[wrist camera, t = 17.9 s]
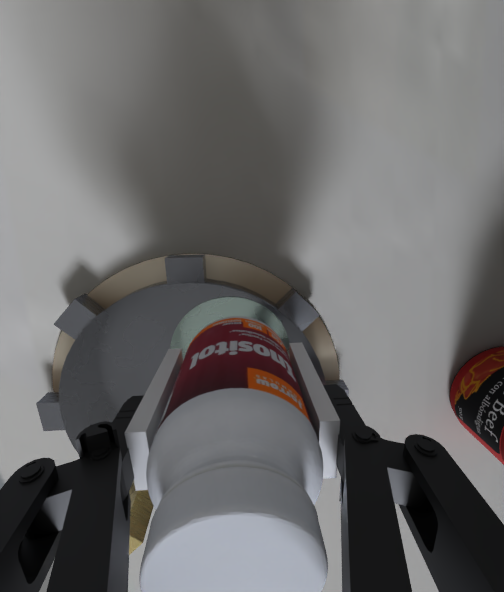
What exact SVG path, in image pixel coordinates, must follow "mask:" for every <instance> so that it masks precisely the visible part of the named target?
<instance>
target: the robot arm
mask: <svg viewBox="0 0 504 592" xmlns="http://www.w3.org/2000/svg"><path fill="white" fill-rule="evenodd" d="M289 359H290V362H291V364H292V367H293V370H294V373H295V376H296V378H297V381H298V384H299V387H300V390H301V393H302V396H303V399H304V401H305V404H306V407H307V410H308V413H309V415H310V418H311V421H312V424H313V426H314V430H315V432H316V436H317V439H318V441H319V444H320V448H321V451H322V457H323V478H336V475H337V468H338V470H339V473H340V475H341V487H340V500H339V501H341V542H342V592H412V589H411V584H410V579H409V574H408V569H407V564H406V559H405V554H404V549H403V544H402V539H401V534H400V529H399V524H398V519H397V514H396V509H395V504H394V503H396V504H399V506H400V508H401V511H402V513H403V515H404V517H405V519H406V521H407V524H408V526H409V528H410V530H411V532H412V534H413V536H414V539H415V541H416V543H417V545H418V547H419V549H420V551H421V554H422V556H423V558H424V560H425V562H426V564H427V567H428V569H429V571H430V573H431V575H432V577H433V579H434V582H435V584H436V586H437V588H438V590H439V592H504V525H503V523H502V522H501V521H500V519H499V518H498V517H497V515H496V514H495V513H494V512H493V510H492V509H491V508H490V506H489V505H488V504H487V503H486V501H485V500H484V499H483V497H482V496H481V495H480V493H479V492H478V491H477V490H476V488H475V487H474V486H473V484H472V483H471V482H470V481H469V479H468V478H467V477H466V475H465V474H464V473H463V471H462V470H461V469H460V468H459V466H458V465H457V464H456V462H455V461H454V460H453V458H452V457H451V456H450V455H449V453H448V452H447V451H446V449H445V448H444V447H443V446H442V445H441V444H440V443H438V442H437V441H435V440H434V439H432V438H429V437H427V436H424V435H417V434H415V435H409V436H408V437H407V438H406V439H405V444H403V443H398V442H393V441H388V440H384V439H382V438H380V435H379V434H378V433H377V432H376V431H375V430H374V429H372V428H370V427H368V426H366V425H365V424H364V422H363V420H362V419H361V417H360V415H359V414H358V412H357V410H356V409H355V407H354V405H352V402H351V400H350V399H349V397H348V395H347V394H346V392H345V390H344V389H342V388H341V387H340V386H338V385H337V384H331V385H323V384H322V382H321V380H320V378H319V376H318V374H317V372H316V370H315V368H314V366H313V364H312V362H311V360H310V358H309V356H308V354H307V352H306V350H305V348H304V346H303V344H302V342H301V343H289ZM182 363H183V355H182V348H178V349H168V351H167V353H166V355H165V357H164V359H163V361H162V363H161V365H160V366H159V368H158V370H157V372H156V374H155V376H154V378H153V380H152V382H151V384H150V385H149V387H148V389H147V391H146V393H145V395H141V396H132V397H131V398H129V399H128V400H127V401H126V402H125V403H124V404H123V405H122V407H121V409H120V410H119V413H117V415H116V417H115V419H114V420H113V422H107V421H105V422H98V423H95V424H93V425H90V426H89V427H87V428H85V429H84V430H83V431H82V432H80V433H79V434H78V436H77V438H76V439H75V441H76V445H77V449H78V453H79V457H80V459H78V460H75V461H73V462H69V463H66V464H63V465H59V466H55V462H54V460H52V459H50V458H41V459H37V460H34V461H32V462H29V463H27V464H25V465H24V466H22V467H21V468H19V469H18V470H17V471H16V472H15V473H14V474H13V475H12V476H11V477H10V478H9V479H8V481H7V482H6V483H5V485H4V486H3V487H2V488H1V490H0V592H39V590H40V588H41V586H42V584H43V582H44V580H45V578H46V575H47V573H48V571H49V569H50V567H51V565H52V563H53V561H54V564H53V568H52V572H51V576H50V580H49V584H48V588H47V592H128V568H129V539H130V510H131V499H130V494H129V490H130V488H131V485H132V483H133V480H134V484H135V489H136V491H139V490H148V488H147V479H146V470H147V461H148V456H149V452H150V449H151V446H152V443H153V441H154V438H155V435H156V432H157V429H158V427H159V424H160V421H161V419H162V416H163V414H164V411H165V408H166V405H167V403H168V400H169V397H170V395H171V392H172V389H173V387H174V384H175V381H176V379H177V376H178V373H179V371H180V368H181V365H182ZM54 558H55V560H54Z"/></svg>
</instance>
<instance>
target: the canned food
mask: <svg viewBox="0 0 504 592" xmlns="http://www.w3.org/2000/svg"><path fill="white" fill-rule="evenodd" d="M450 402H451V406H452V409H453V411H454V413H455V415H456V416H457V418H458V420H459V421H460V423H461V424H462V425H463V426H464V427H465V428H466V429H467V430H468V431H469V432H470V433H471V434H472V435H473V436H474V437H475V438H476V439H477V440H478V441H479V442H480V443H481V444H482V445H484V446H485V447H486V448H487V449H488V450H489V451H490V452H491V453H492V454H493V455H494V456H495V457H496V458H497V459H498V460H499V461H500V462H501V463H502V464H504V347H498V348H492V349H489V350H487V351H484V352H482V353H480V354H478V355H476V356H474V357H473V358H472V359H471V360H469V361H468V362H467V363H466V364H465V365H464V366H463V367H462V368H461V369H460V370H459V372H458V374H457V375H456V377H455V379H454V381H453V383H452V386H451V391H450Z"/></svg>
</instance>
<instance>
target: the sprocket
mask: <svg viewBox="0 0 504 592" xmlns="http://www.w3.org/2000/svg"><path fill="white" fill-rule="evenodd" d="M165 267H166V277H167V281H163V282H159V283H154V284H151V285H149V286H146V287H143V288H141V289H138V290H136V291H134V292H132V293H130V294H128V295H126V296H124V297H123V298H121V299H119V300H118V301H117V302H115V303H114V304H112V305H111V306H110V307H108V308H107V309H104V308H103V307H102V306H101V305H99V304H98V303H97V302H95V301H94V300H93V299H92V298H90V297H89V296H88V295H86V294H84V295H82V296H80V297H78V298H76V299H74V301H73V302H72V303H71V304H70V305H69V307H68V308H67V309H66V310H65V311H64V313H63V314H62V315H61V316H60V317H59V319H58V320H57V321H56V322H55V323H54V325H55V326H57V327H58V328H59V329H61V330H62V331H64V332H65V333H66V334H68V335H69V336H71V337H72V338H73V339H75V341H74V343H73V345H72V347H71V349H70V351H69V353H68V354H67V356H66V359H65V362H64V365H63V368H62V371H61V377H60V384H59V392H48V393H47V394H46V395H45V396H44V397H43V398H42V399H41V400H40V401H38V402H37V403H36V405H37V408H38V412H39V415H40V419H41V423H42V426H43V430H44V431H53V430H66V433H67V435H68V437H69V439H70V441H71V443H72V445H73V446H74V448H75V449H76V451H77V452H78V449H77V445H76V441H75V439H76V438H77V436H78V434H79V433H80V432H82V431H83V430H84V429H85V428H87V427H89V426H90V425H93V424H95V423H98V422H105V421H107V422H113V420H114V419H115V417H116V415H117V413H119V410H120V409H121V407H122V405H123V404H124V403H125V402H126V401H127V400H128V399H129V398H131V397H132V396H141V395H145V393H146V391H147V389H148V387H149V385H150V384H151V382H152V380H153V378H154V376H155V374H156V372H157V370H158V368H159V366H160V365H161V363H162V361H163V359H164V357H165V355H166V353H167V351H168V349H178V348H182V355H183V360H184V357H185V355H186V352H187V349H188V347H189V345H190V343H191V342H192V340H193V338H194V337H195V336H196V334H197V333H198V332H199V331H200V330H201V329H202V328H204V327H205V326H206V325H208V324H210V323H212V322H214V321H216V320H218V319H222V318H225V317H230V316H244V317H249V318H253V319H256V320H259V321H261V322H263V323H265V324H266V325H268V326H269V327H271V328H272V329H273V330H274V331H275V332H276V333H277V334H278V336H279V337H280V338H281V340H282V342H283V344H284V346H285V348H286V350H287V353H288V356H289V343H301V342H302V344H303V346H304V348H305V350H306V352H307V354H308V356H309V358H310V360H311V362H312V364H313V366H314V368H315V370H316V372H317V374H318V376H319V378H320V380H321V382H322V384H323V385H331V384H337V385H338V386H340V387H341V388H342V389H344V390H345V392H346V394H347V395H348V392H349V389H348V388H347V386H346V385H345V383H344V381H343V380H327V381H325V377H324V373H323V370H322V367H321V364H320V361H319V359H318V357H317V355H316V353H315V351H314V349H313V347H312V346H311V344H310V342H309V340H308V338H307V337H306V335H305V334H304V333H303V330H305V329H306V328H307V327H308V326H309V325H310V324H311V323H312V322H313V321H314V320H315V319H316V318H317V317H318V316H319V314H318V313H317V311H316V310H315V309H314V308H313V307H312V306H311V305H310V304H309V303H308V302H307V301H306V300H305V299H304V298H303V297H302V296H301V295H300V294H299V293H298V292H296V291H295V290H294V289H293V288H291V289H290V290H289V291H288V292H287V293H286V294H285V295H284V296H283V297H282V298H281V299H280V300H279V301H278V302H277V303H276V304H275V303H274V302H272V301H270V300H269V299H267V298H266V297H264V296H262V295H261V294H259V293H257V292H254V291H252V290H250V289H247V288H245V287H243V286H239V285H236V284H233V283H229V282H226V281H220V280H213V279H207V277H206V262H205V255H169V256H168V257H166V258H165ZM78 454H79V453H78ZM129 494H130V499H131V510H130V539H129V554H131V553H132V552H133V551H134V550H135V549H136V548H137V547H139V546H140V545H141V544H142V543H143V540H144V537H145V533H146V530H147V526H148V523H149V519H150V516H151V513H152V509H153V503H152V501H151V499H150V496H149V492H148V490H139V491H136V489H135V484H134V480H133V483H132V485H131V488H130V490H129Z"/></svg>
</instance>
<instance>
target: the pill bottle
mask: <svg viewBox="0 0 504 592" xmlns="http://www.w3.org/2000/svg"><path fill="white" fill-rule="evenodd" d="M146 479H147V488H148V492H149V496H150V499H151V501H152V503H153V506H154V508H155V510H156V511H155V514H154V516H153V519H152V522H151V526H150V530H149V535H148V539H147V543H146V547H145V551H144V555H143V559H142V563H141V569H140V588H141V592H321V591H322V589H323V587H324V584H325V581H326V578H327V572H328V562H327V555H326V550H325V546H324V542H323V537H322V533H321V529H320V526H319V522H318V516H317V512H316V509H315V506H314V504H315V503H316V500H317V498H318V496H319V493H320V489H321V485H322V480H323V457H322V451H321V448H320V444H319V441H318V439H317V436H316V432H315V430H314V426H313V424H312V421H311V418H310V415H309V413H308V410H307V407H306V404H305V401H304V399H303V396H302V393H301V390H300V387H299V384H298V381H297V378H296V376H295V373H294V370H293V367H292V364H291V362H290V359H289V356H288V353H287V350H286V348H285V346H284V344H283V342H282V340H281V338H280V337H279V336H278V334H277V333H276V332H275V331H274V330H273V329H272V328H271V327H269V326H268V325H266V324H265V323H263V322H261V321H259V320H256V319H253V318H249V317H244V316H230V317H225V318H222V319H218V320H216V321H214V322H212V323H210V324H208V325H206V326H205V327H204V328H202V329H201V330H200V331H199V332H198V333H197V334H196V336H195V337H194V338H193V340H192V342H191V343H190V345H189V347H188V349H187V352H186V355H185V357H184V360H183V363H182V365H181V368H180V371H179V373H178V376H177V379H176V381H175V384H174V387H173V389H172V392H171V395H170V397H169V400H168V403H167V405H166V408H165V411H164V414H163V416H162V419H161V421H160V424H159V427H158V429H157V432H156V435H155V438H154V441H153V443H152V446H151V449H150V452H149V456H148V461H147V470H146Z"/></svg>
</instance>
